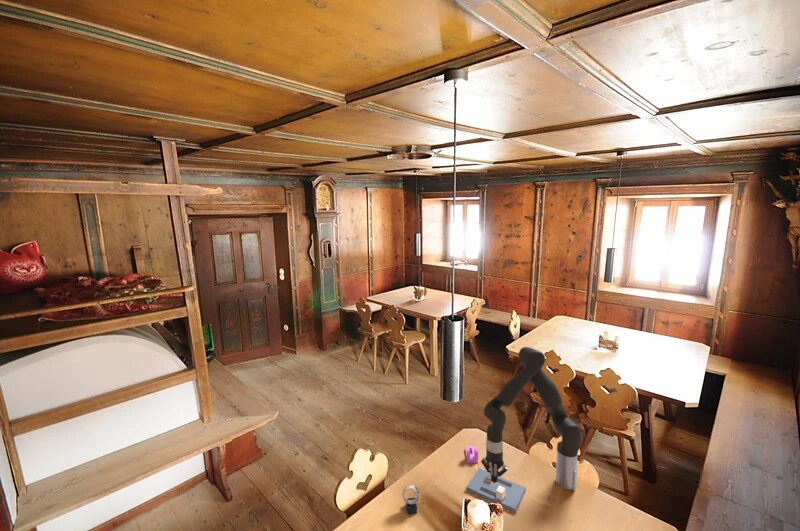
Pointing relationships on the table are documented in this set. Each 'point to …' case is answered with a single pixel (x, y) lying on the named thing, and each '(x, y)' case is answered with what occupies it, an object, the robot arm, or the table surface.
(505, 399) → the robot arm
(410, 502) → the watch
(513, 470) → the table surface
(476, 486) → the switch bank
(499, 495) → the tab
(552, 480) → the table surface
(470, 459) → the bracket
